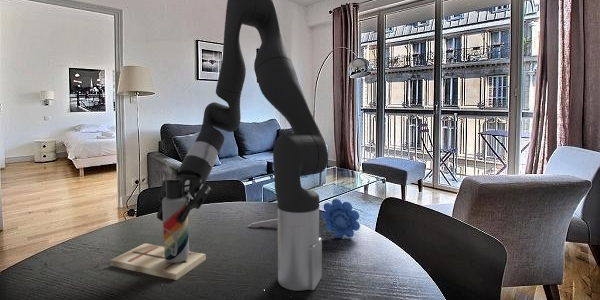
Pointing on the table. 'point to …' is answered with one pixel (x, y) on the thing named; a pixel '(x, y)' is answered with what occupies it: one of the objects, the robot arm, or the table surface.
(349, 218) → the blue flower
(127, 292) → the table surface
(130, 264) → the oak board
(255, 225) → the caliper
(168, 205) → the lotion bottle
